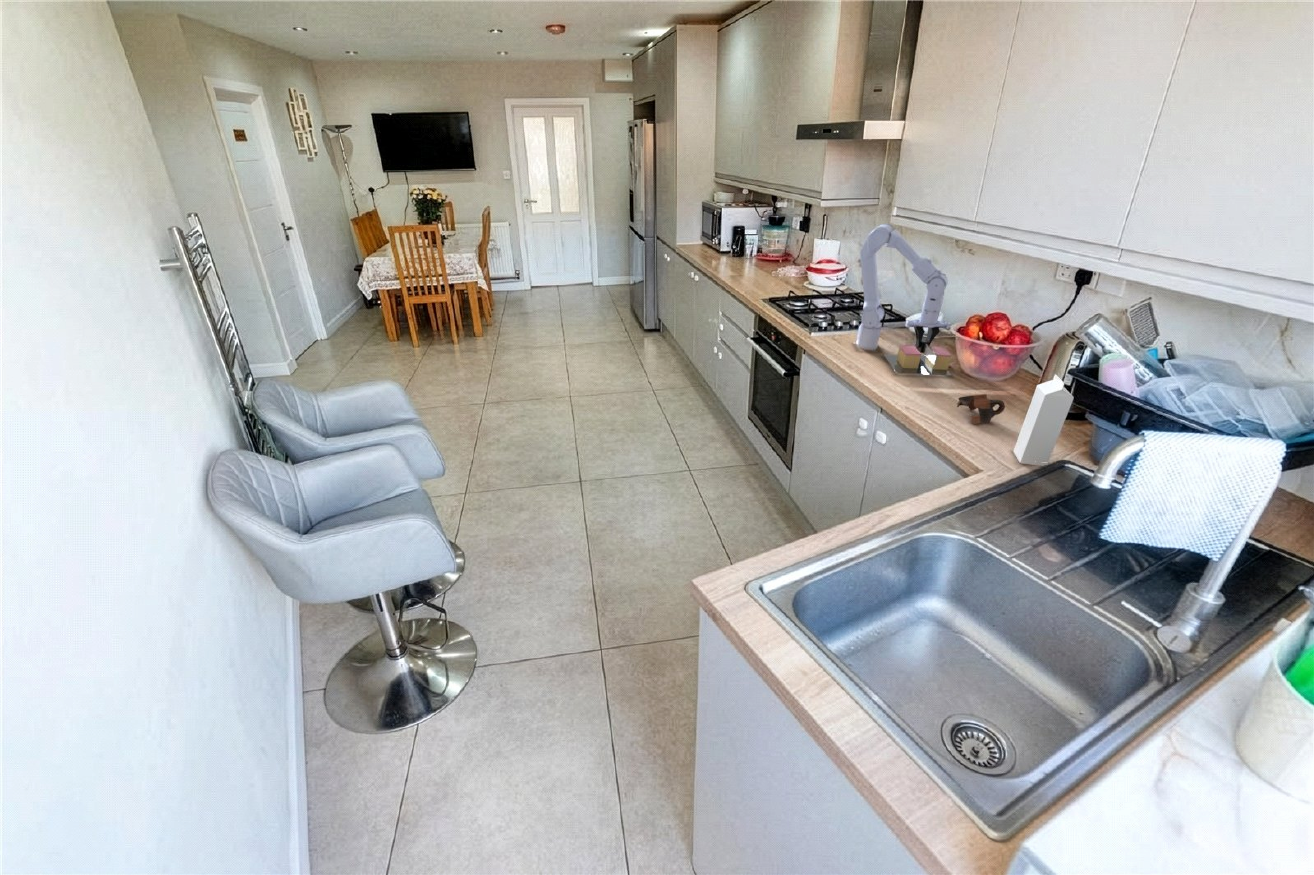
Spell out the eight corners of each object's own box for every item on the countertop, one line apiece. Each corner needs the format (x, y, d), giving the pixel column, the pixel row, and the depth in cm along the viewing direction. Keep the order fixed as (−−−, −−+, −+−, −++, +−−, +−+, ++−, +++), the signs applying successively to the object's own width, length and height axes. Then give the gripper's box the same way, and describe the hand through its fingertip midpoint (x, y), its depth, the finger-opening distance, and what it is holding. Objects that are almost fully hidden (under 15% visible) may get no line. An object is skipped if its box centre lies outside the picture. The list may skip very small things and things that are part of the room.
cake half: (896, 359, 200) (899, 345, 198) (911, 360, 200) (914, 346, 197) (902, 368, 193) (906, 353, 191) (917, 368, 193) (921, 354, 190)
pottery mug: (961, 425, 159) (958, 396, 159) (955, 425, 168) (952, 398, 168) (1010, 420, 155) (1006, 390, 155) (1001, 420, 164) (998, 392, 164)
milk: (1038, 455, 144) (1069, 375, 133) (1046, 467, 139) (1080, 384, 128) (1012, 451, 145) (1041, 372, 134) (1019, 463, 140) (1050, 382, 129)
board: (882, 356, 205) (883, 354, 205) (934, 358, 204) (934, 356, 203) (895, 375, 190) (896, 373, 189) (951, 377, 188) (952, 375, 188)
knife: (915, 348, 205) (918, 337, 203) (922, 348, 205) (925, 338, 203) (930, 364, 190) (933, 353, 188) (938, 364, 190) (941, 353, 188)
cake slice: (925, 360, 199) (928, 346, 197) (939, 361, 199) (943, 347, 196) (932, 369, 192) (936, 354, 190) (947, 369, 192) (951, 355, 189)
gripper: (913, 312, 193) (904, 350, 199) (957, 313, 191) (946, 351, 198) (907, 306, 199) (899, 343, 205) (949, 308, 198) (940, 344, 204)
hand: (922, 346), depth 202 cm, fingers closed on knife, 2 cm apart
